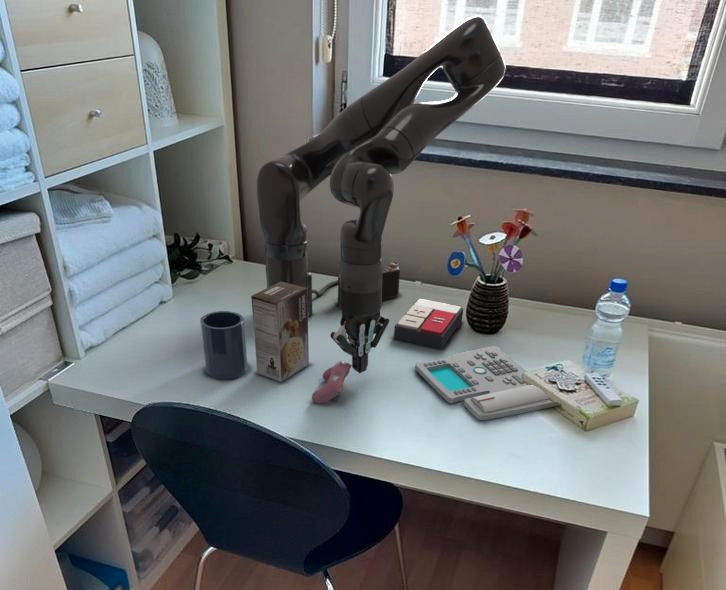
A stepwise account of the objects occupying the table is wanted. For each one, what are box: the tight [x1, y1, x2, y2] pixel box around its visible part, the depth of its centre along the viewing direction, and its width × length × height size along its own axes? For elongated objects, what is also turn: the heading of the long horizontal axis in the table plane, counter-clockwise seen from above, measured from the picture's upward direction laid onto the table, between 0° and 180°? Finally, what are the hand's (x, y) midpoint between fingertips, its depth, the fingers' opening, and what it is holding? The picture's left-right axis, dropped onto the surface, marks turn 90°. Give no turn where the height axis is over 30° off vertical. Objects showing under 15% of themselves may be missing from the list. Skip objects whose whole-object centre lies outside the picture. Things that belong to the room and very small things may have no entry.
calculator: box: [393, 298, 464, 350], centre depth 150 cm, size 11×4×15 cm
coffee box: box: [250, 282, 310, 383], centre depth 129 cm, size 9×6×16 cm
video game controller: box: [311, 360, 352, 404], centre depth 126 cm, size 10×5×7 cm, turn 169°
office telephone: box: [414, 345, 562, 421], centre depth 131 cm, size 23×3×20 cm
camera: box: [337, 261, 401, 307], centre depth 162 cm, size 16×7×8 cm, turn 120°
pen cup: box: [199, 310, 248, 381], centre depth 130 cm, size 8×8×10 cm
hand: (360, 370), depth 130 cm, fingers closed
